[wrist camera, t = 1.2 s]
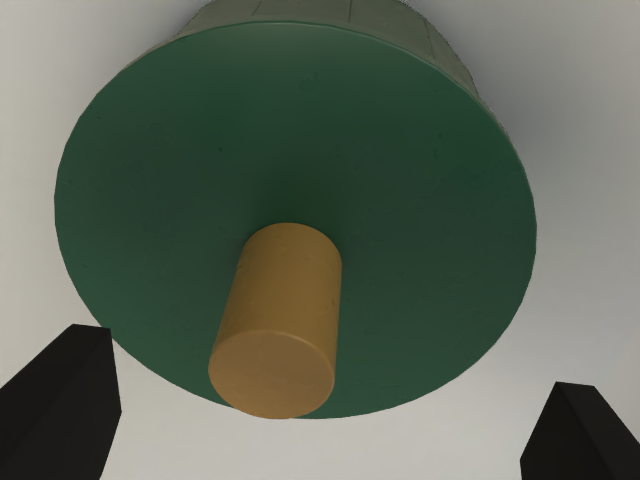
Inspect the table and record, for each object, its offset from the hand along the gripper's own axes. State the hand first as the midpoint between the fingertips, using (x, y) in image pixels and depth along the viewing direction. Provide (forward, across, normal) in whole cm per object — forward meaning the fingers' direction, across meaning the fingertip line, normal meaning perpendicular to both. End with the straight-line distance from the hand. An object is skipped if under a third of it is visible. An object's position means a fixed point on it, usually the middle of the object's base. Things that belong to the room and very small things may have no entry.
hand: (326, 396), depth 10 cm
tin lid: (+5, +1, +1) cm, 5 cm away
